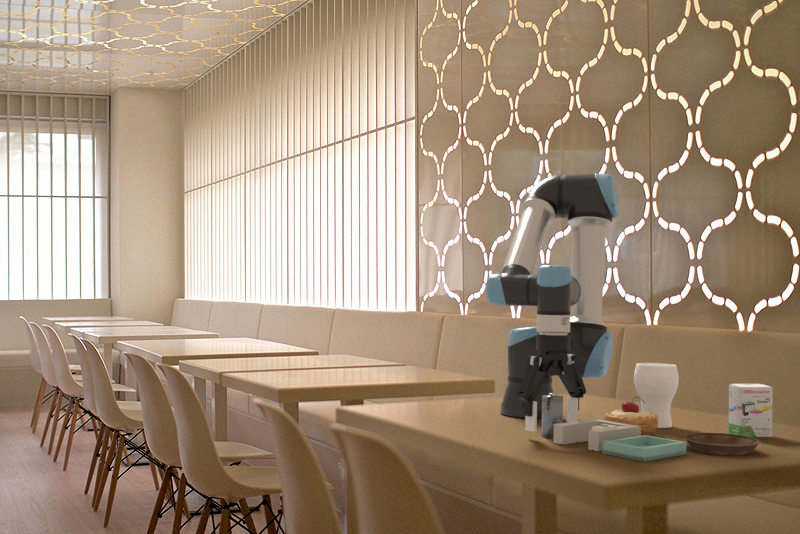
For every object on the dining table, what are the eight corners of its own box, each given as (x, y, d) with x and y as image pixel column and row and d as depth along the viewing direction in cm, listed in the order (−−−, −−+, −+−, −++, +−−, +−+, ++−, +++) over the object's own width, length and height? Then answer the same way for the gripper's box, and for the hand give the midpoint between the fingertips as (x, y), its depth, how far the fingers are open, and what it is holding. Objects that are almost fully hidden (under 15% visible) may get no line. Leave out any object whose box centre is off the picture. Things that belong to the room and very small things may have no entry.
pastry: (594, 434, 209) (593, 395, 209) (636, 430, 213) (635, 393, 214) (627, 441, 198) (626, 400, 198) (669, 437, 202) (668, 397, 203)
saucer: (719, 460, 178) (719, 446, 178) (669, 447, 191) (669, 434, 191) (775, 455, 184) (775, 442, 184) (722, 443, 197) (722, 431, 197)
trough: (602, 453, 181) (602, 441, 181) (645, 446, 189) (645, 435, 190) (643, 461, 173) (643, 448, 173) (686, 454, 182) (686, 442, 182)
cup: (680, 430, 213) (681, 367, 214) (634, 428, 215) (635, 365, 216) (675, 423, 224) (676, 363, 224) (632, 421, 226) (632, 362, 226)
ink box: (739, 437, 204) (740, 386, 204) (727, 434, 209) (728, 383, 209) (773, 437, 206) (773, 385, 206) (760, 433, 211) (761, 383, 211)
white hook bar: (553, 442, 193) (553, 418, 193) (595, 436, 201) (596, 414, 201) (598, 451, 183) (598, 426, 183) (640, 445, 192) (641, 421, 192)
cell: (537, 435, 201) (537, 393, 201) (551, 434, 204) (551, 391, 204) (552, 438, 198) (553, 395, 198) (566, 436, 201) (567, 394, 201)
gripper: (526, 335, 191) (525, 435, 190) (602, 333, 206) (601, 426, 206) (501, 333, 197) (500, 430, 196) (577, 332, 212) (576, 421, 212)
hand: (551, 428), depth 201 cm, fingers open, 13 cm apart
